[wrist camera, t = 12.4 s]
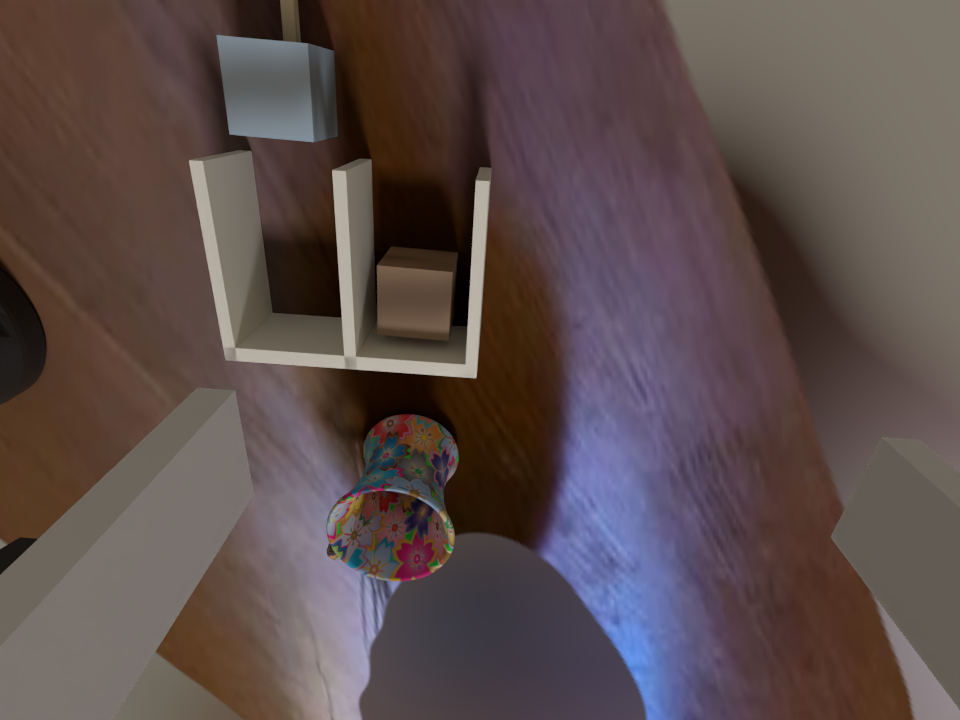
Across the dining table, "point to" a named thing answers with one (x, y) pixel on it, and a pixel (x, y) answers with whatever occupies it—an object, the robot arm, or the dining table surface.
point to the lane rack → (353, 337)
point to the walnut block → (416, 293)
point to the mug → (397, 502)
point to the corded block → (279, 84)
